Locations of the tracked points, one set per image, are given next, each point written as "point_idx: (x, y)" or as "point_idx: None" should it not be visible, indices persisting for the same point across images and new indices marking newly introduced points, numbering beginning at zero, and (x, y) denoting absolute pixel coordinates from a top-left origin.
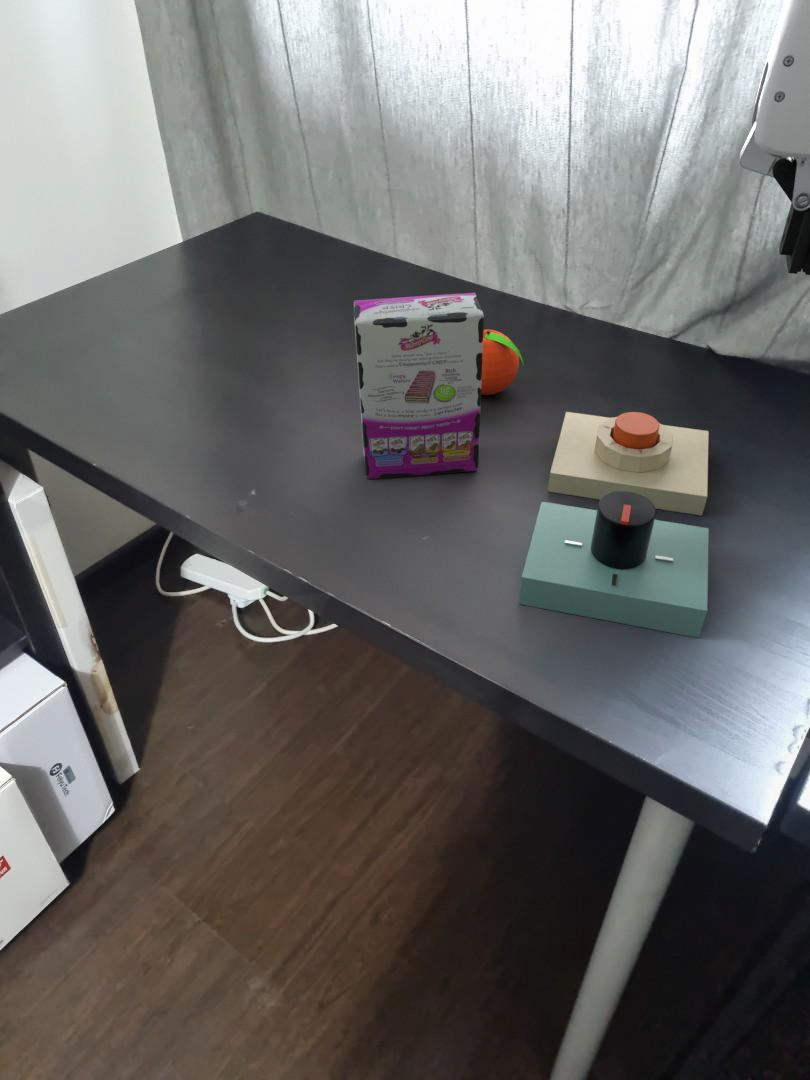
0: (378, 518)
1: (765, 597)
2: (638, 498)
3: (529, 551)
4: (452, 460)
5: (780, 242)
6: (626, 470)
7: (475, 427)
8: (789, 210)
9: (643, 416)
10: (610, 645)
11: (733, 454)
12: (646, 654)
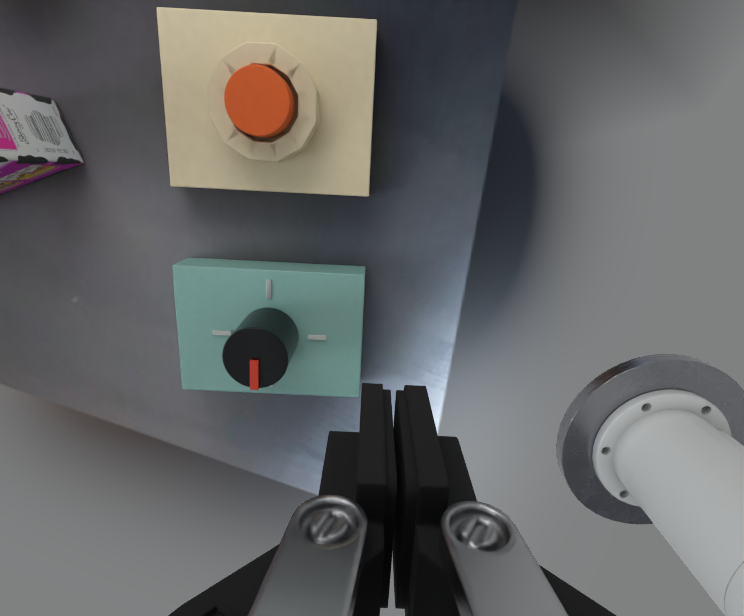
0: (11, 278)
1: (425, 316)
2: (266, 339)
3: (180, 353)
4: (41, 174)
5: (329, 433)
6: (265, 161)
7: (31, 163)
8: (319, 491)
9: (264, 77)
10: (285, 402)
11: (418, 32)
12: (316, 406)
